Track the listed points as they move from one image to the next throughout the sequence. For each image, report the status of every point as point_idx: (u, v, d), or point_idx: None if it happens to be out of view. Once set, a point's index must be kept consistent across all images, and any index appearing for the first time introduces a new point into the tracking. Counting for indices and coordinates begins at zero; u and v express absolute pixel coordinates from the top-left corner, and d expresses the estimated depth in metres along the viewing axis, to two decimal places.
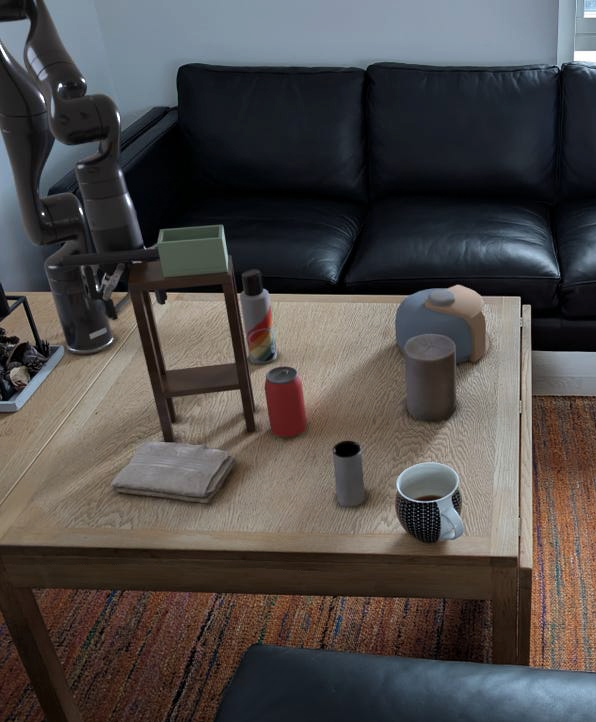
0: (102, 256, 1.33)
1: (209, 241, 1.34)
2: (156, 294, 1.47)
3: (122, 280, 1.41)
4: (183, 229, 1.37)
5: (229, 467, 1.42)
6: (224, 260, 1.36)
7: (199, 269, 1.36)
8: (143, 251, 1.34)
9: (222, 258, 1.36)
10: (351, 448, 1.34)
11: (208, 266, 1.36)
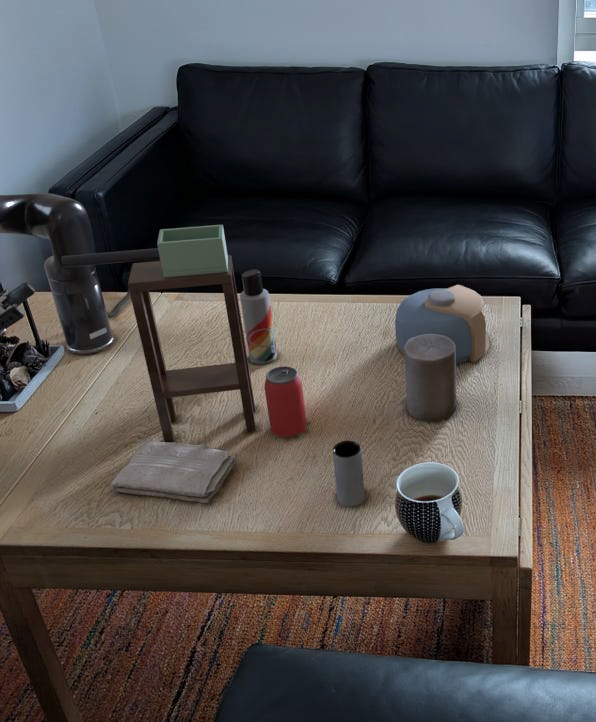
0: (102, 256, 1.33)
1: (209, 241, 1.34)
2: None
3: None
4: (183, 229, 1.37)
5: (229, 467, 1.42)
6: (224, 260, 1.36)
7: (199, 269, 1.36)
8: (143, 251, 1.34)
9: (222, 258, 1.36)
10: (351, 448, 1.34)
11: (208, 266, 1.36)
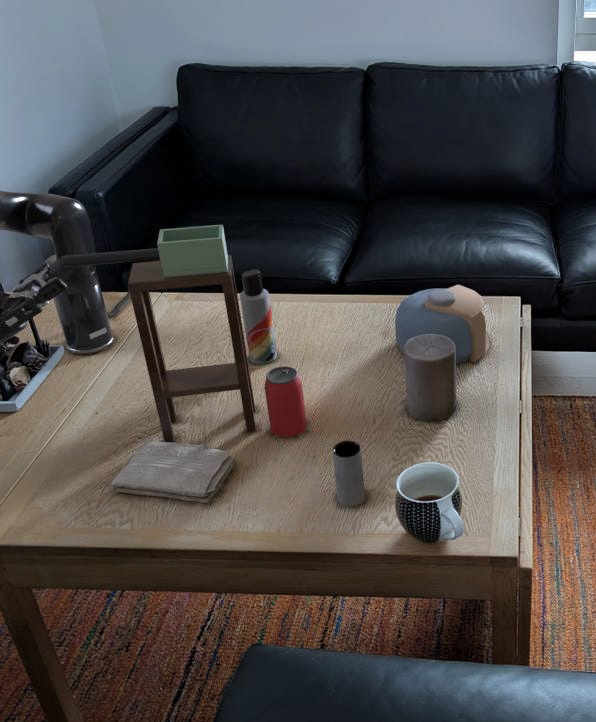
0: (102, 256, 1.33)
1: (209, 241, 1.34)
2: None
3: None
4: (183, 229, 1.37)
5: (229, 467, 1.42)
6: (224, 260, 1.36)
7: (199, 269, 1.36)
8: (143, 251, 1.34)
9: (222, 258, 1.36)
10: (351, 448, 1.34)
11: (208, 266, 1.36)
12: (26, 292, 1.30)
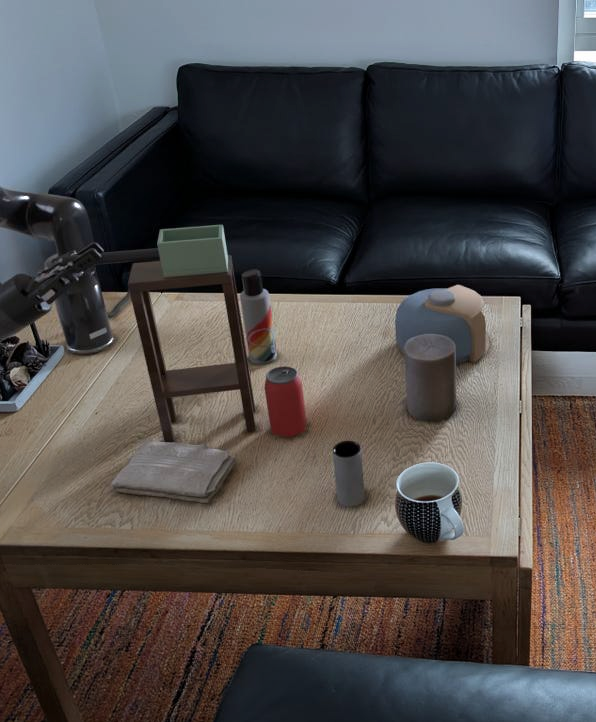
0: (102, 256, 1.33)
1: (209, 241, 1.34)
2: None
3: None
4: (183, 229, 1.37)
5: (229, 467, 1.42)
6: (224, 260, 1.36)
7: (199, 269, 1.36)
8: (143, 251, 1.34)
9: (222, 258, 1.36)
10: (351, 448, 1.34)
11: (208, 266, 1.36)
12: (58, 267, 1.32)
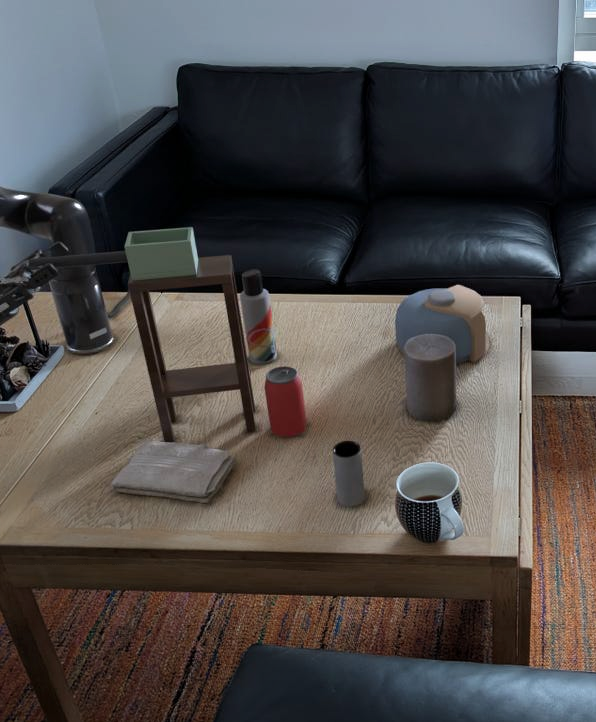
0: (69, 258, 1.32)
1: (177, 244, 1.33)
2: None
3: None
4: (152, 232, 1.36)
5: (229, 467, 1.42)
6: (193, 263, 1.35)
7: (167, 272, 1.35)
8: (111, 254, 1.33)
9: (191, 261, 1.35)
10: (351, 448, 1.34)
11: (177, 269, 1.35)
12: (17, 278, 1.29)
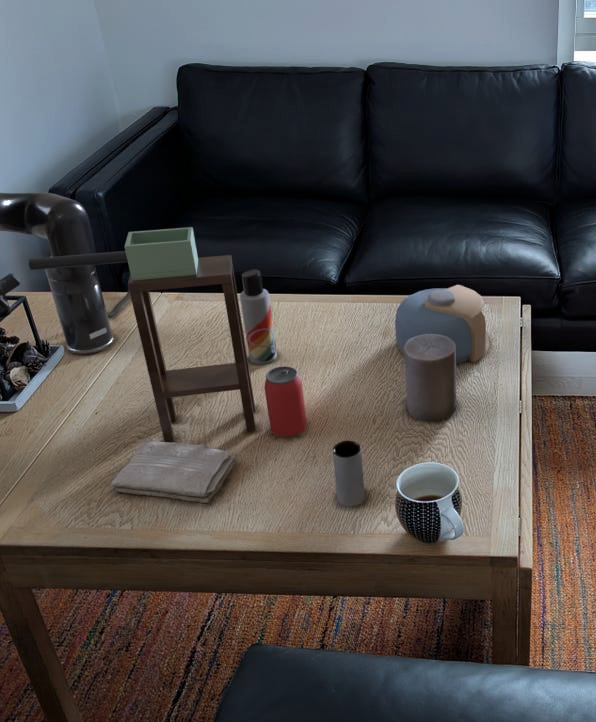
0: (69, 258, 1.32)
1: (177, 244, 1.33)
2: None
3: None
4: (152, 232, 1.36)
5: (229, 467, 1.42)
6: (193, 263, 1.35)
7: (167, 272, 1.35)
8: (111, 254, 1.33)
9: (191, 261, 1.35)
10: (351, 448, 1.34)
11: (177, 269, 1.35)
12: None
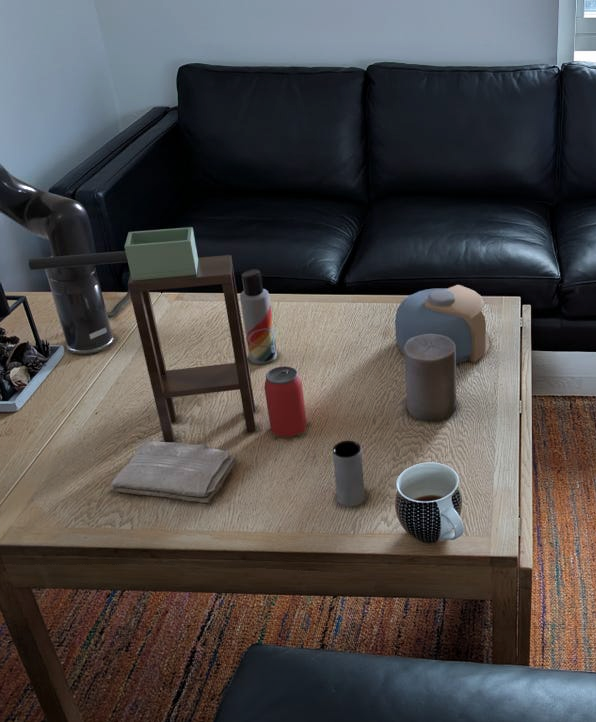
0: (69, 258, 1.32)
1: (177, 244, 1.33)
2: None
3: None
4: (152, 232, 1.36)
5: (229, 467, 1.42)
6: (193, 263, 1.35)
7: (167, 272, 1.35)
8: (111, 254, 1.33)
9: (191, 261, 1.35)
10: (351, 448, 1.34)
11: (177, 269, 1.35)
12: None
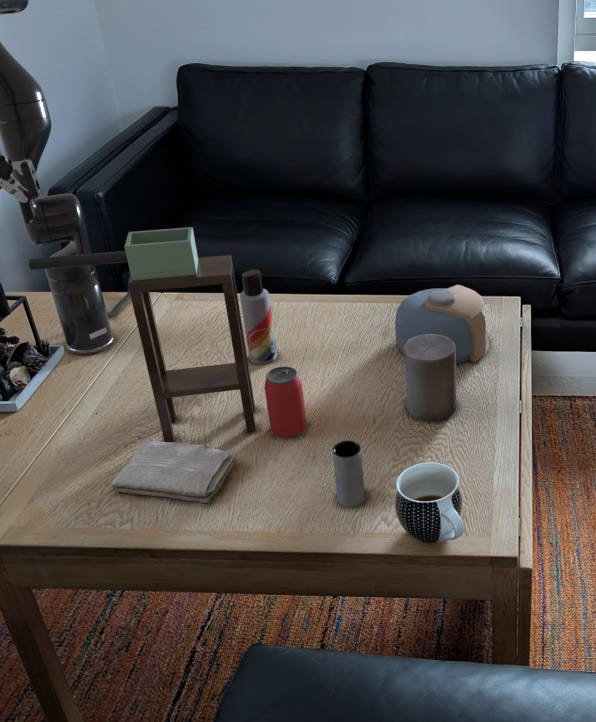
0: (69, 258, 1.32)
1: (177, 244, 1.33)
2: None
3: None
4: (152, 232, 1.36)
5: (229, 467, 1.42)
6: (193, 263, 1.35)
7: (167, 272, 1.35)
8: (111, 254, 1.33)
9: (191, 261, 1.35)
10: (351, 448, 1.34)
11: (177, 269, 1.35)
12: None
